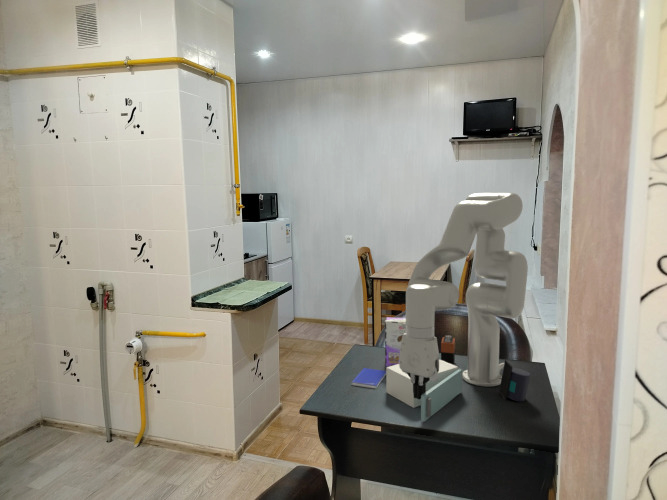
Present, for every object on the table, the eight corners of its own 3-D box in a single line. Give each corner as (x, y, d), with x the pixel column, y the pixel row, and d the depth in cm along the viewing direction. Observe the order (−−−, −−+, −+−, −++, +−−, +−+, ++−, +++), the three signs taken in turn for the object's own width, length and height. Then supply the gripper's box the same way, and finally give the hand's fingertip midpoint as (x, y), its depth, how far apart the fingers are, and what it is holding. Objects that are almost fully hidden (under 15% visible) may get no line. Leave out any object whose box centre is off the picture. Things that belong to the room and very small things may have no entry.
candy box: (424, 362, 161) (425, 318, 159) (424, 369, 156) (424, 322, 154) (386, 360, 165) (386, 316, 163) (384, 366, 159) (384, 320, 157)
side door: (459, 390, 137) (459, 368, 137) (464, 391, 136) (465, 369, 135) (421, 420, 120) (421, 395, 119) (427, 422, 118) (427, 397, 118)
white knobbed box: (431, 377, 148) (432, 352, 147) (460, 390, 138) (460, 364, 137) (386, 392, 138) (386, 365, 137) (413, 407, 128) (413, 378, 127)
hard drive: (376, 385, 141) (386, 370, 152) (351, 381, 144) (363, 367, 155) (376, 390, 141) (386, 375, 152) (351, 386, 144) (363, 372, 155)
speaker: (497, 399, 132) (502, 365, 130) (498, 392, 137) (503, 359, 136) (525, 406, 129) (531, 371, 128) (525, 398, 134) (530, 365, 133)
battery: (454, 362, 162) (455, 335, 160) (453, 369, 155) (454, 341, 154) (442, 360, 163) (442, 334, 162) (440, 367, 157) (440, 340, 155)
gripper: (388, 329, 122) (388, 393, 124) (437, 340, 112) (436, 410, 114) (404, 323, 127) (403, 385, 130) (452, 333, 117) (451, 400, 119)
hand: (419, 396), depth 122 cm, fingers closed
